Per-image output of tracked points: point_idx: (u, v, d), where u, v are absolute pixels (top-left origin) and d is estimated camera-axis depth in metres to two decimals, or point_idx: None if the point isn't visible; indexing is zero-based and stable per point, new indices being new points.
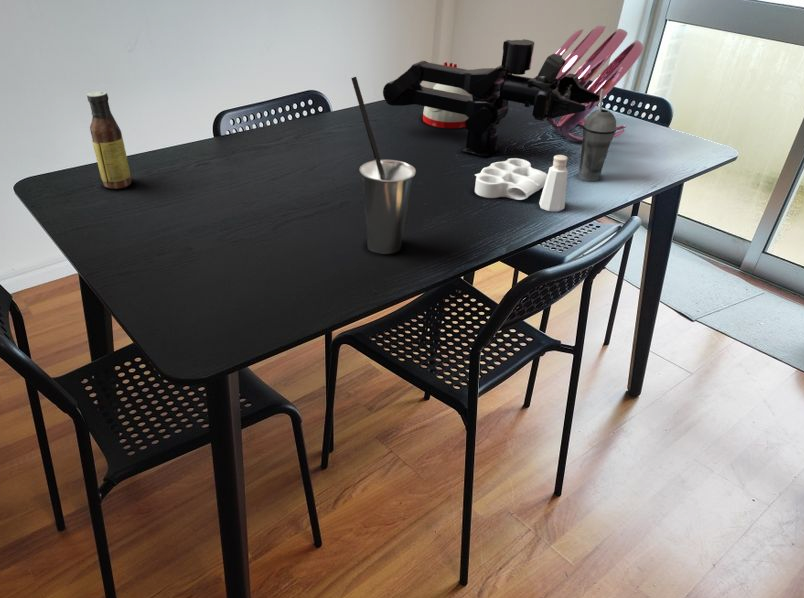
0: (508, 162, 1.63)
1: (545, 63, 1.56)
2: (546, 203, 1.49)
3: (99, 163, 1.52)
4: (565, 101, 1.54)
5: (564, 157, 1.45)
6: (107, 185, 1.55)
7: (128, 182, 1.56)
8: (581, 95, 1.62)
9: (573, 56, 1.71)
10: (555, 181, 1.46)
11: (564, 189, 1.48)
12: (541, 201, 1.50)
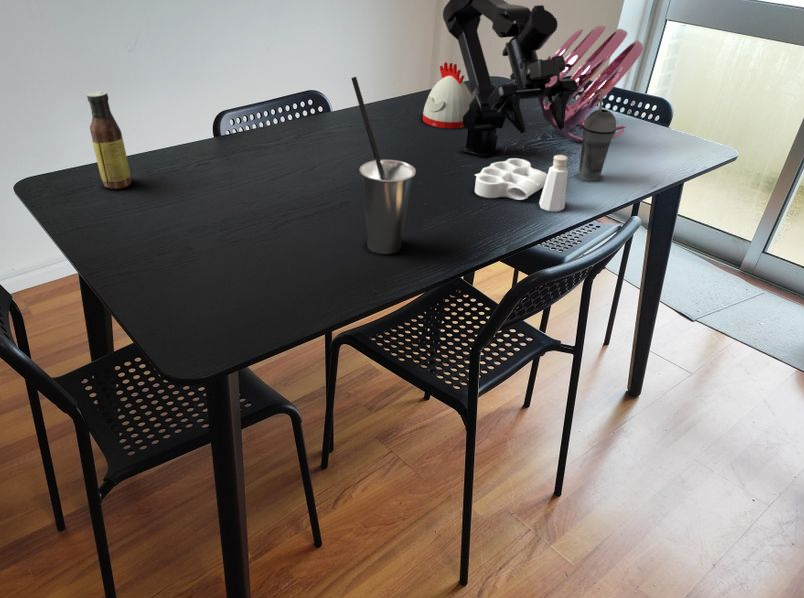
0: (508, 162, 1.63)
1: (535, 63, 1.44)
2: (546, 203, 1.49)
3: (99, 163, 1.52)
4: (515, 112, 1.48)
5: (564, 157, 1.45)
6: (107, 185, 1.55)
7: (128, 182, 1.56)
8: (557, 111, 1.52)
9: (573, 56, 1.71)
10: (555, 181, 1.46)
11: (564, 189, 1.48)
12: (541, 201, 1.50)
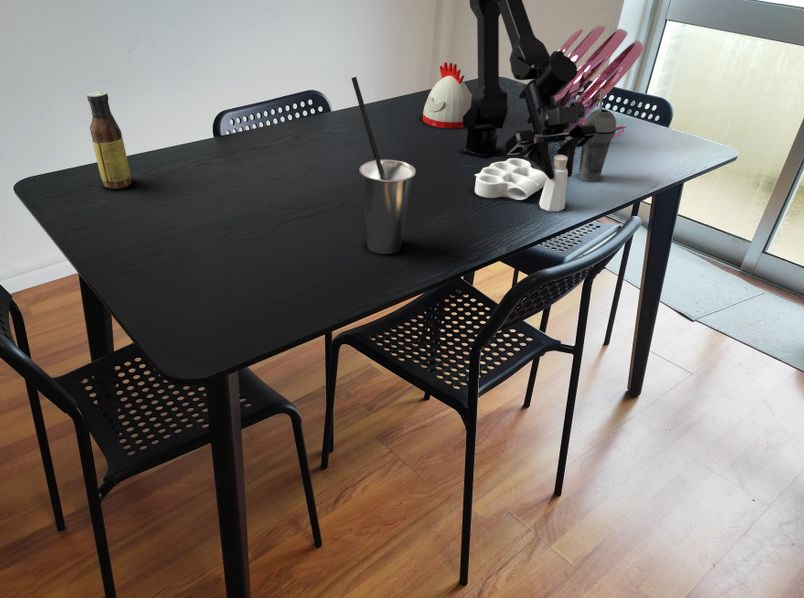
0: (508, 162, 1.63)
1: (554, 110, 1.40)
2: (546, 203, 1.49)
3: (99, 163, 1.52)
4: (543, 158, 1.45)
5: (564, 157, 1.45)
6: (107, 185, 1.55)
7: (128, 182, 1.56)
8: None
9: (573, 56, 1.71)
10: (555, 181, 1.46)
11: (564, 189, 1.48)
12: (541, 201, 1.50)
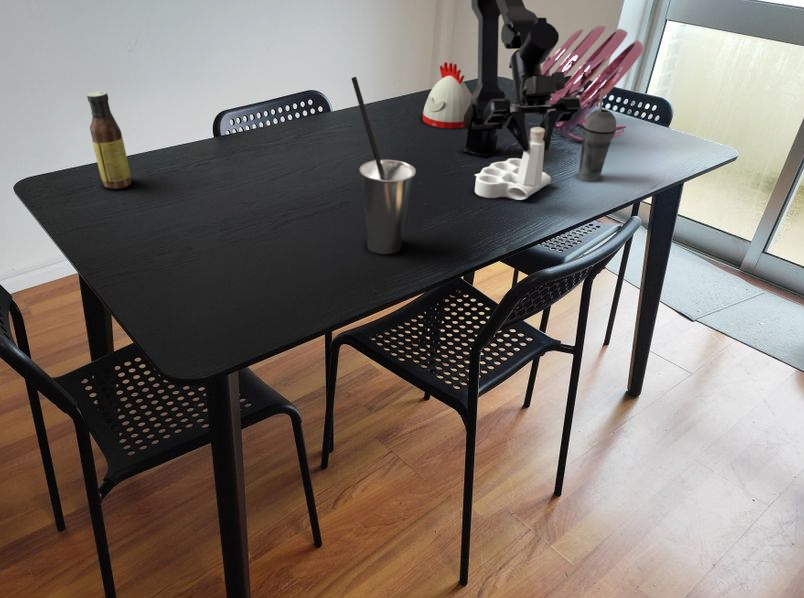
0: (508, 162, 1.63)
1: (531, 79, 1.36)
2: (521, 177, 1.45)
3: (99, 163, 1.52)
4: (519, 129, 1.41)
5: (541, 129, 1.40)
6: (107, 185, 1.55)
7: (128, 182, 1.56)
8: None
9: (573, 56, 1.71)
10: (530, 153, 1.41)
11: (540, 163, 1.43)
12: (518, 175, 1.46)
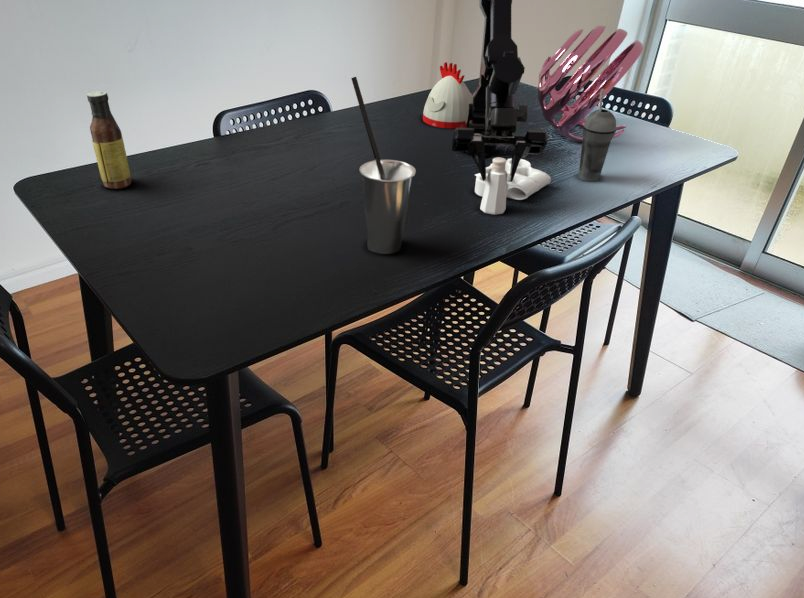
0: (508, 162, 1.63)
1: (493, 110, 1.39)
2: (483, 205, 1.48)
3: (99, 163, 1.52)
4: (478, 158, 1.44)
5: (502, 160, 1.43)
6: (107, 185, 1.55)
7: (128, 182, 1.56)
8: (512, 161, 1.45)
9: (573, 56, 1.71)
10: (491, 182, 1.45)
11: (501, 193, 1.46)
12: (481, 202, 1.49)
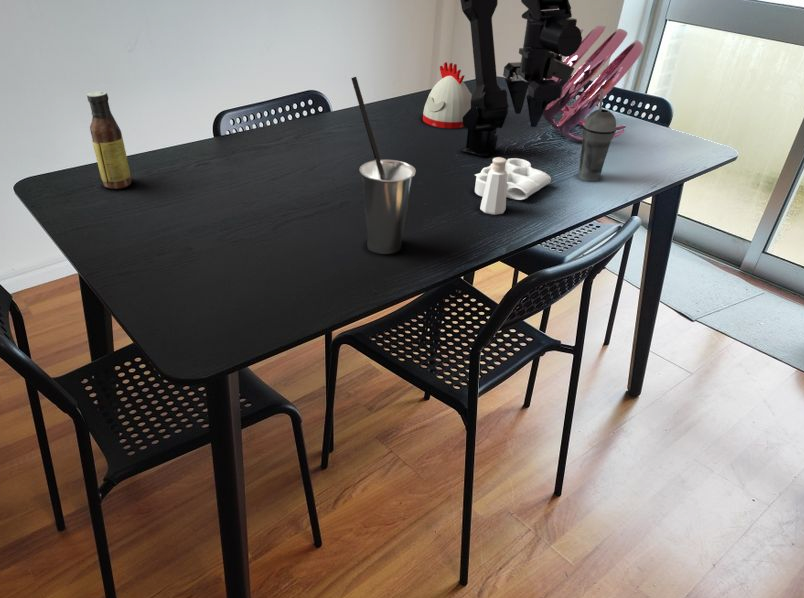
0: (508, 162, 1.63)
1: (570, 68, 1.50)
2: (483, 205, 1.48)
3: (99, 163, 1.52)
4: (544, 109, 1.50)
5: (502, 160, 1.43)
6: (107, 185, 1.55)
7: (128, 182, 1.56)
8: (519, 94, 1.59)
9: (573, 56, 1.71)
10: (491, 183, 1.45)
11: (501, 193, 1.46)
12: (481, 202, 1.49)
